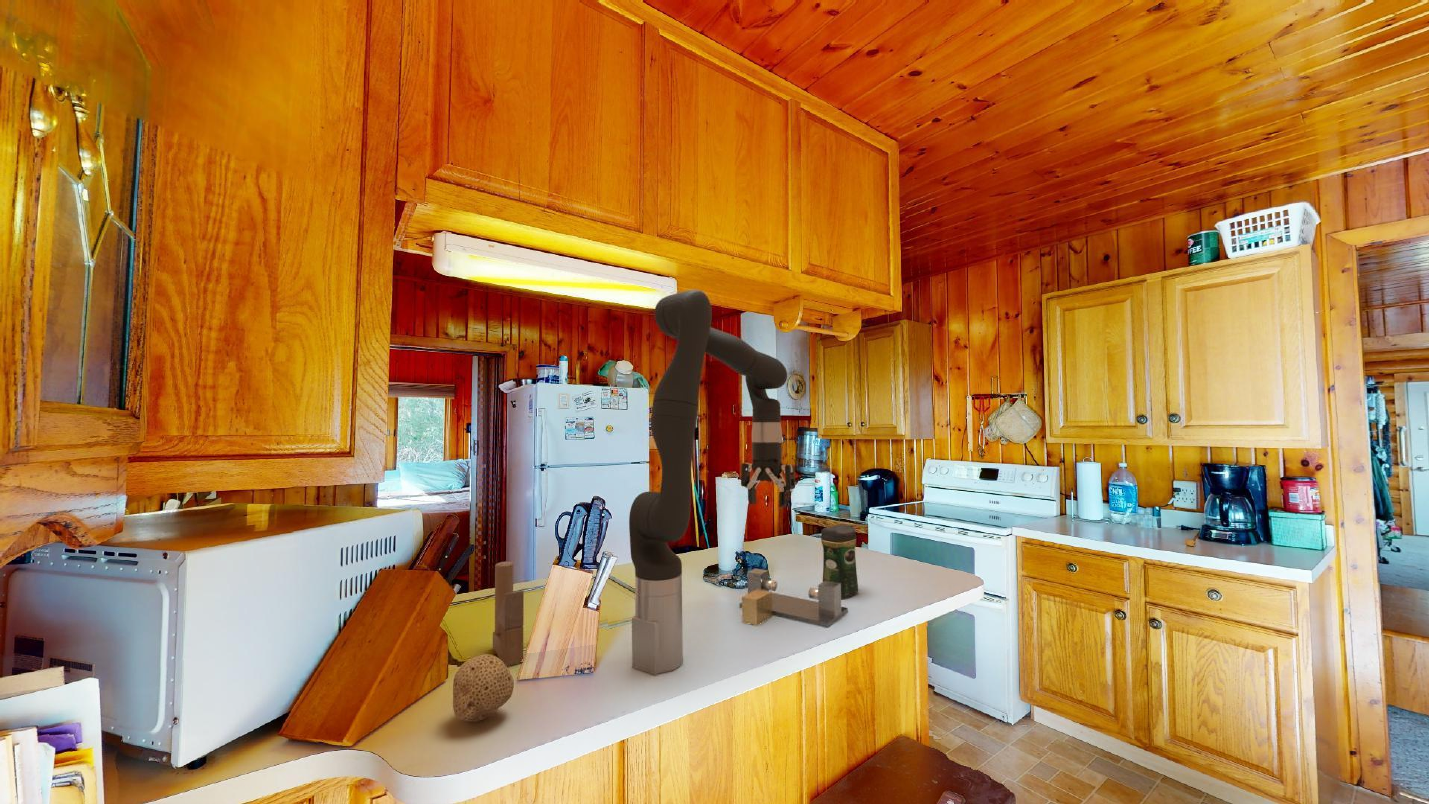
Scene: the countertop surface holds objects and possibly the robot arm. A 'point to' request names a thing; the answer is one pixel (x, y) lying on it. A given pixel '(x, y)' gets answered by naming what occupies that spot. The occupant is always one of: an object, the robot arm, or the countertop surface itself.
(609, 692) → the countertop surface
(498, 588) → the wooden block
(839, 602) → the stand
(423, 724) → the countertop surface
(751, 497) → the robot arm
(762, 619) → the block
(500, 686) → the natural sponge
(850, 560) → the coffee jar
